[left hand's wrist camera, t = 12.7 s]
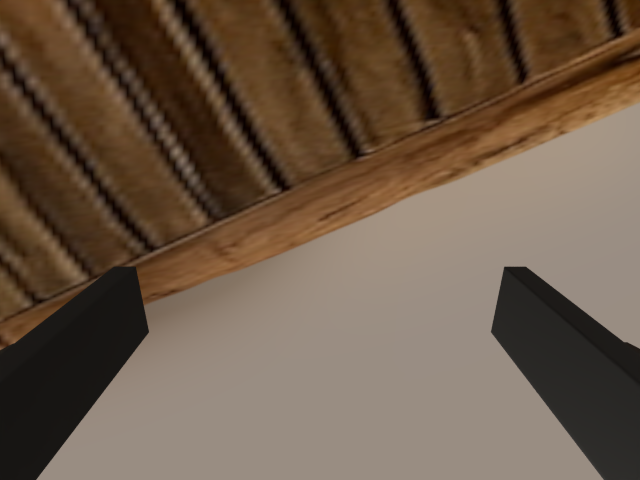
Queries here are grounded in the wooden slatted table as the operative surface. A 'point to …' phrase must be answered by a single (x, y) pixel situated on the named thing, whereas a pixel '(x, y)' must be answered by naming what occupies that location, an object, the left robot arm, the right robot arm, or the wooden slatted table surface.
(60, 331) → the left robot arm
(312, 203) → the wooden slatted table surface
